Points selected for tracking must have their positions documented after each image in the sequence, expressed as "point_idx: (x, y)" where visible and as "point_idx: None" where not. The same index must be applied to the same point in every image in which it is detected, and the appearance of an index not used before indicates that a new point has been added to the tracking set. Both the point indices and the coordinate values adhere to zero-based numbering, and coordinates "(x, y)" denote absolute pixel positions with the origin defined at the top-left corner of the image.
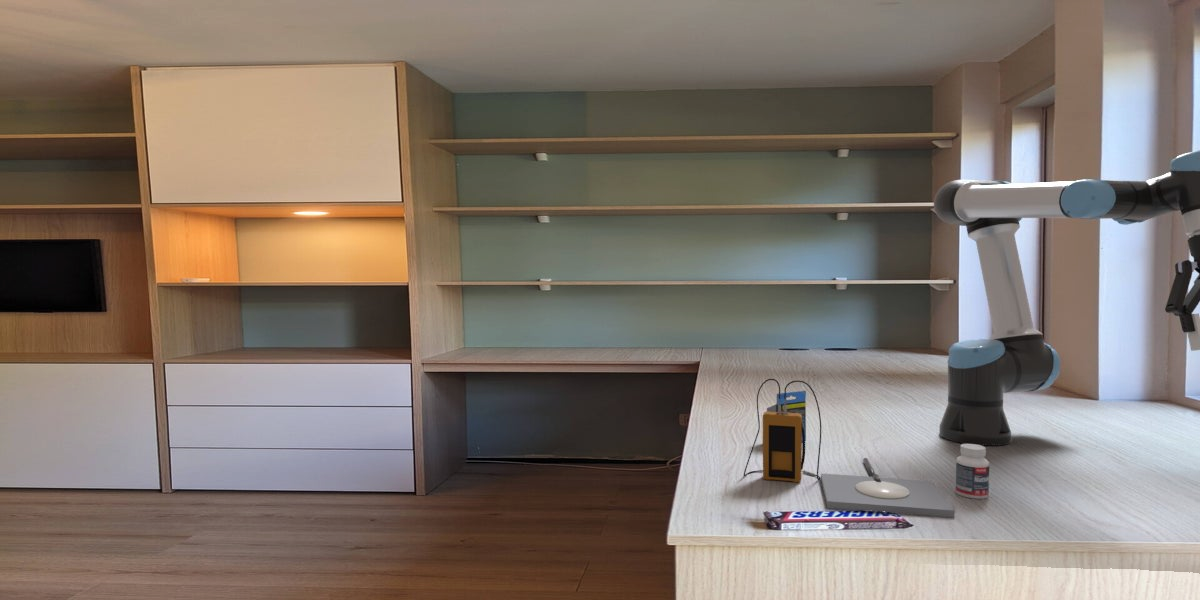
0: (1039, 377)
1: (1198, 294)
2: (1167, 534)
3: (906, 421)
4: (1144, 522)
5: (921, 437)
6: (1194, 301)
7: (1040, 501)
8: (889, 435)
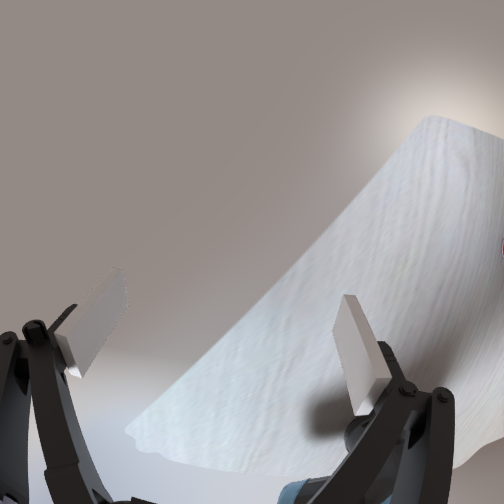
0: (318, 485)
1: (378, 453)
2: (434, 129)
3: None
4: (434, 157)
5: None
6: (393, 422)
7: (477, 223)
8: None
